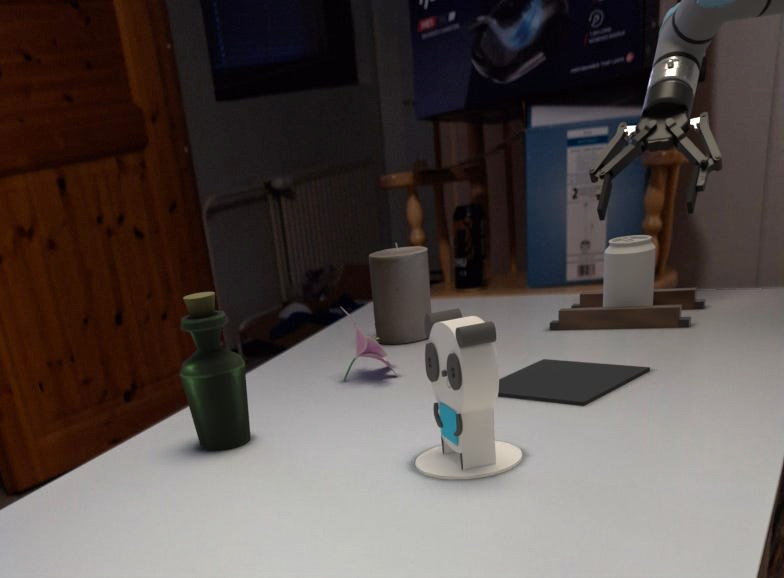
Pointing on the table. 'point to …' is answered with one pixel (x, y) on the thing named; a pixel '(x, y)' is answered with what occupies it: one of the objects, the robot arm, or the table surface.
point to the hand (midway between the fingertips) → (644, 211)
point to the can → (629, 272)
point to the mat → (567, 381)
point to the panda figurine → (464, 399)
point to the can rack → (630, 312)
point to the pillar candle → (400, 293)
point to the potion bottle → (214, 378)
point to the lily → (367, 347)
